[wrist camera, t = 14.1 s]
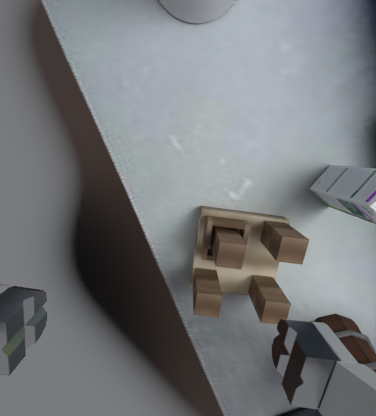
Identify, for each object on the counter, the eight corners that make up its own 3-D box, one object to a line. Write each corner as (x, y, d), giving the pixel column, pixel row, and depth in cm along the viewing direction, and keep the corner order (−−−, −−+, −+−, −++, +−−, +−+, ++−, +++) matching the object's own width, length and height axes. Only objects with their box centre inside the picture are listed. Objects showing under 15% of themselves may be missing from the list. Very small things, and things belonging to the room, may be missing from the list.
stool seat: (201, 205, 43) (205, 223, 33) (284, 216, 44) (313, 237, 33) (189, 280, 47) (190, 316, 37) (265, 289, 48) (287, 328, 37)
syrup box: (307, 189, 42) (367, 208, 28) (330, 163, 41) (404, 170, 27) (329, 207, 43) (397, 234, 29) (352, 182, 42) (435, 198, 28)
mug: (343, 304, 48) (409, 371, 34) (364, 344, 51) (435, 421, 36) (277, 338, 51) (313, 413, 36) (301, 374, 53) (343, 458, 39)
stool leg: (214, 224, 41) (220, 242, 34) (235, 227, 42) (246, 245, 34) (210, 245, 42) (215, 266, 35) (231, 247, 43) (241, 269, 35)
